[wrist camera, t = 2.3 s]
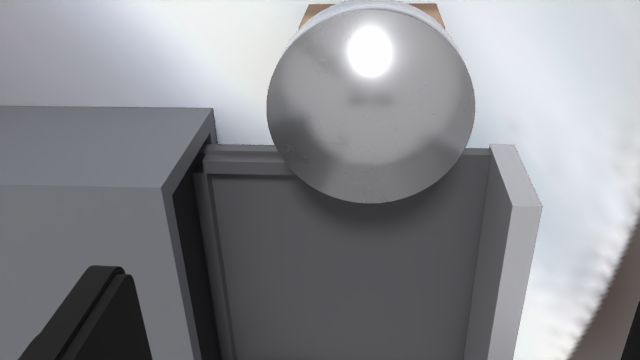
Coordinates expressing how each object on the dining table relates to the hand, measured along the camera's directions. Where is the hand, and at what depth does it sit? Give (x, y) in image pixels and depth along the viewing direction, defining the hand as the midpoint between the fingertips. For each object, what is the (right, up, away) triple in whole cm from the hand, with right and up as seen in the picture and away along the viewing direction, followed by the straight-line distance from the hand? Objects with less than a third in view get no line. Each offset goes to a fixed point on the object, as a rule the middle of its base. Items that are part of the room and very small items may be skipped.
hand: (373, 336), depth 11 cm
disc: (+1, +6, +10) cm, 12 cm away
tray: (-1, -1, +17) cm, 17 cm away
